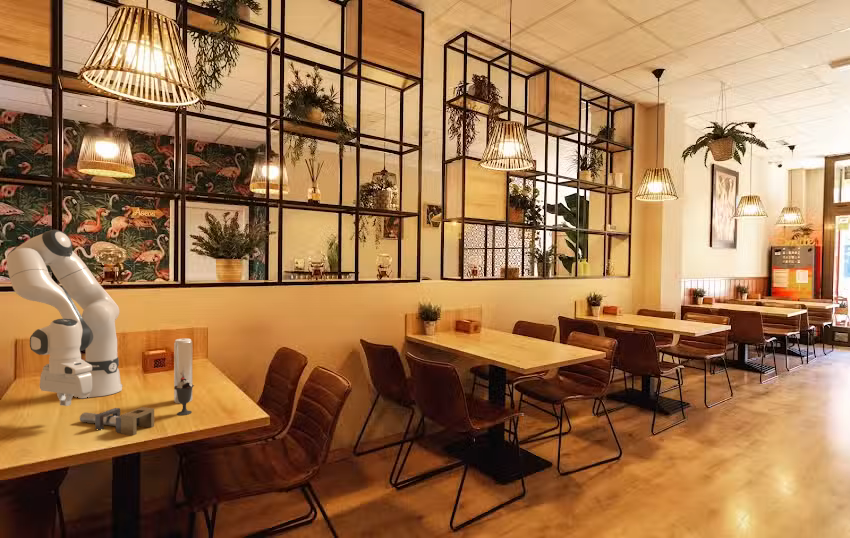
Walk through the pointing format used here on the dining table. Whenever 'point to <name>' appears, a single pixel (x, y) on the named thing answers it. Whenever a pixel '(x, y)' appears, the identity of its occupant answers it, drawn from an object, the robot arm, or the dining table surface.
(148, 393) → the dining table surface
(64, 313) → the robot arm
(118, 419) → the collar
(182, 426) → the dining table surface
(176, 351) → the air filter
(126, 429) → the aperture bridge
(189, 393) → the sundae
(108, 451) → the dining table surface
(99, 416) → the collar
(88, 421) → the tube
